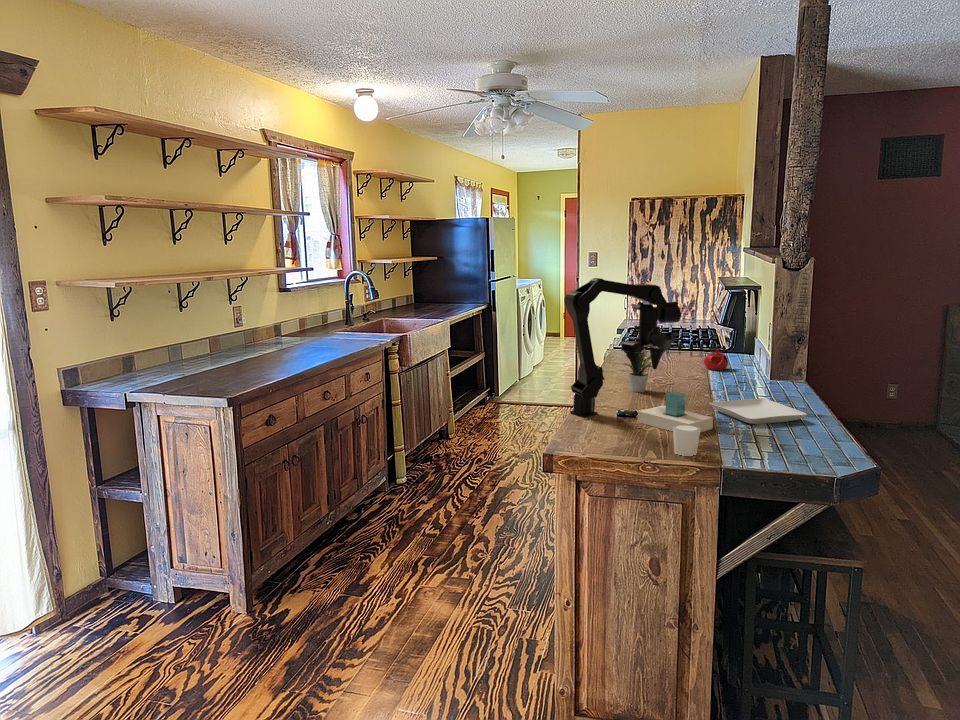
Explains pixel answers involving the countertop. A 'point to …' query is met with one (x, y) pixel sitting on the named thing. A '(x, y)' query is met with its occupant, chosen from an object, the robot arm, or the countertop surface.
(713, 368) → the pomegranate
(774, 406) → the salad plate
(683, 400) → the teal rectangular block
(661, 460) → the countertop surface
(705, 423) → the beige square hole board
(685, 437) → the white tapered cup
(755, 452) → the countertop surface
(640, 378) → the house plant
